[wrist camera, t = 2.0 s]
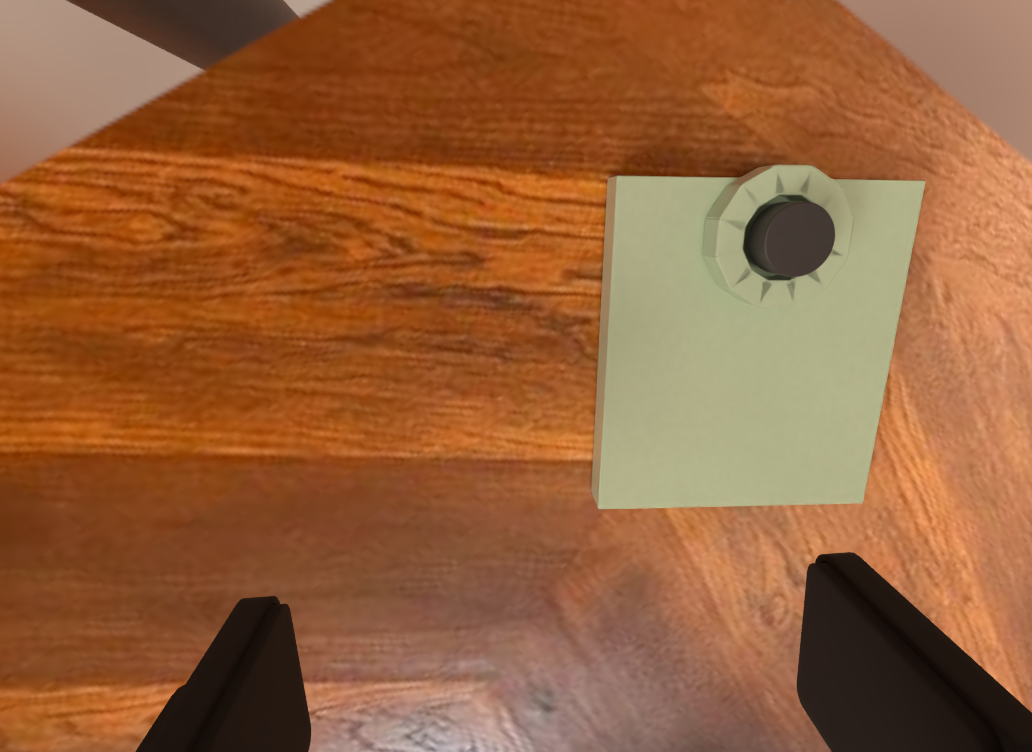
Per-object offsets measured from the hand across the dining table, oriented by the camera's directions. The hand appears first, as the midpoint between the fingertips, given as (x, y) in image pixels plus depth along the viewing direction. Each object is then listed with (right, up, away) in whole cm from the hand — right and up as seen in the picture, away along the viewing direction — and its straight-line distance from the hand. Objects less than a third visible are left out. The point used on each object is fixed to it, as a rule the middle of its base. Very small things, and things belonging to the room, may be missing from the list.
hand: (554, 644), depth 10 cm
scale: (+10, +6, +19) cm, 23 cm away
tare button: (+11, +11, +15) cm, 21 cm away
